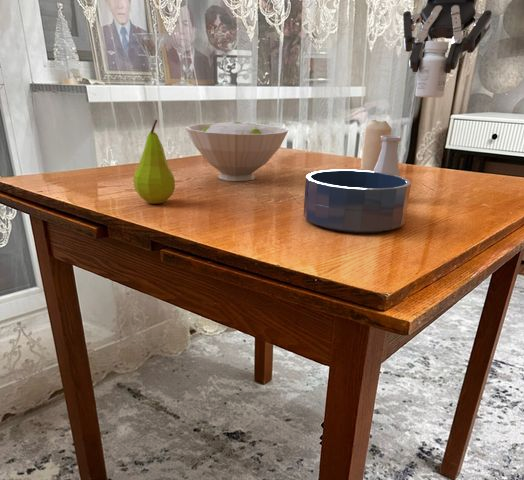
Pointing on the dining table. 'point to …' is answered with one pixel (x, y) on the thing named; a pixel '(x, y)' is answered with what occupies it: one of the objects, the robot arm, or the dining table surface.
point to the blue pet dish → (356, 200)
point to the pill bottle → (432, 70)
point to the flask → (388, 155)
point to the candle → (373, 143)
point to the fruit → (154, 172)
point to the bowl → (236, 146)
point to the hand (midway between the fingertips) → (431, 68)
